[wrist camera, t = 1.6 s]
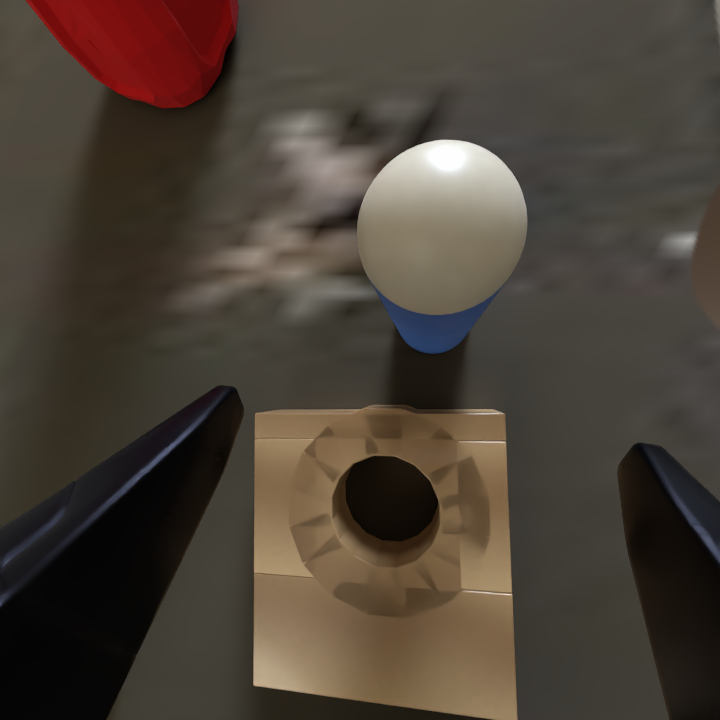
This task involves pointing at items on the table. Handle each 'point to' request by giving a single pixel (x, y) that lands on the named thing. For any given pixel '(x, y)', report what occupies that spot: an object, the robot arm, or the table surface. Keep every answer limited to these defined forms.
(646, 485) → the robot arm
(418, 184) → the white topped blue rod
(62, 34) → the water bottle
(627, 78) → the table surface
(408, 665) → the holder
